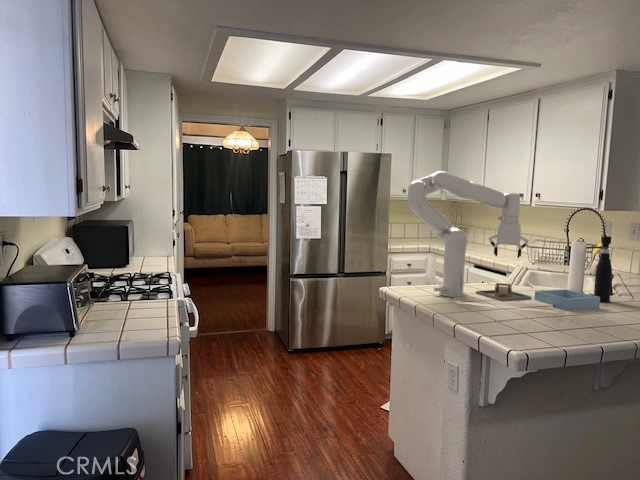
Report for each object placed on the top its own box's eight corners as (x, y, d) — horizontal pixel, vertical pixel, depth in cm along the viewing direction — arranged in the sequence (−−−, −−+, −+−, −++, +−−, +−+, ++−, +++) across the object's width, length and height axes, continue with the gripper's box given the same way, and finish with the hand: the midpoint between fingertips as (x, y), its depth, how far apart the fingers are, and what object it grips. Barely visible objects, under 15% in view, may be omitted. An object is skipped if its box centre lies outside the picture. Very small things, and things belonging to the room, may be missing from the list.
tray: (500, 303, 212) (501, 298, 212) (475, 295, 228) (475, 290, 228) (531, 301, 218) (531, 296, 218) (504, 294, 234) (504, 289, 234)
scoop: (494, 297, 219) (495, 286, 218) (495, 293, 230) (495, 282, 230) (511, 299, 216) (511, 288, 216) (510, 294, 227) (511, 284, 227)
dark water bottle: (593, 301, 222) (598, 236, 220) (593, 299, 228) (598, 235, 225) (609, 303, 219) (615, 237, 217) (609, 300, 225) (614, 236, 222)
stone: (498, 294, 223) (498, 286, 223) (498, 293, 227) (499, 285, 226) (507, 295, 221) (508, 287, 221) (507, 294, 225) (508, 285, 225)
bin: (567, 310, 200) (568, 299, 200) (534, 301, 217) (535, 290, 217) (599, 308, 207) (600, 297, 206) (564, 299, 223) (565, 289, 223)
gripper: (489, 219, 222) (487, 256, 223) (530, 221, 215) (527, 259, 217) (490, 218, 229) (488, 254, 230) (530, 220, 222) (527, 257, 224)
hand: (507, 256), depth 223 cm, fingers open, 9 cm apart
